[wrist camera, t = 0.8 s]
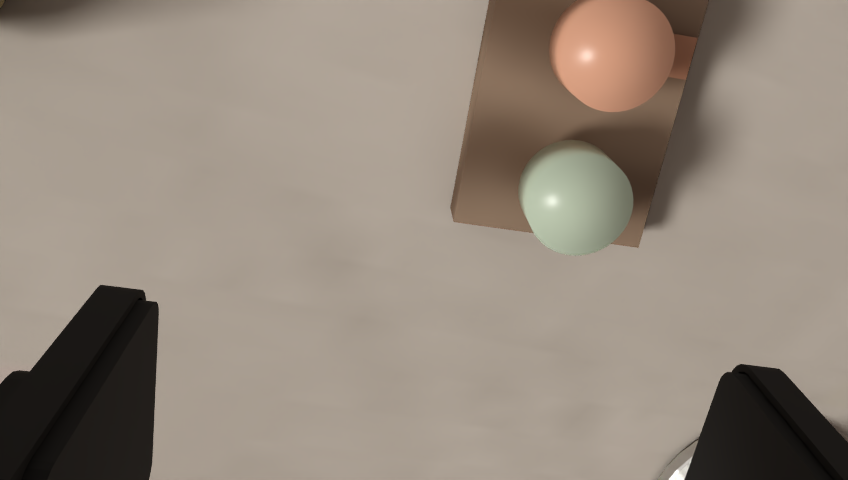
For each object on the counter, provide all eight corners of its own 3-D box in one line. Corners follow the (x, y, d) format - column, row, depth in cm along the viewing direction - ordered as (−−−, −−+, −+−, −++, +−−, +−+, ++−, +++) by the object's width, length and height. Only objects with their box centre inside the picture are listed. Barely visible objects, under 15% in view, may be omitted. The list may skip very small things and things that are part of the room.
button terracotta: (639, 107, 33) (657, 120, 30) (538, 91, 32) (550, 103, 30) (667, 0, 31) (689, 6, 29) (562, -18, 31) (576, -14, 28)
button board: (626, 232, 39) (639, 249, 37) (450, 207, 38) (454, 223, 36) (736, -164, 32) (759, -171, 30) (527, -206, 31) (537, -215, 29)
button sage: (603, 241, 35) (618, 261, 33) (509, 227, 34) (517, 248, 32) (628, 147, 33) (645, 163, 31) (529, 132, 33) (540, 147, 31)
